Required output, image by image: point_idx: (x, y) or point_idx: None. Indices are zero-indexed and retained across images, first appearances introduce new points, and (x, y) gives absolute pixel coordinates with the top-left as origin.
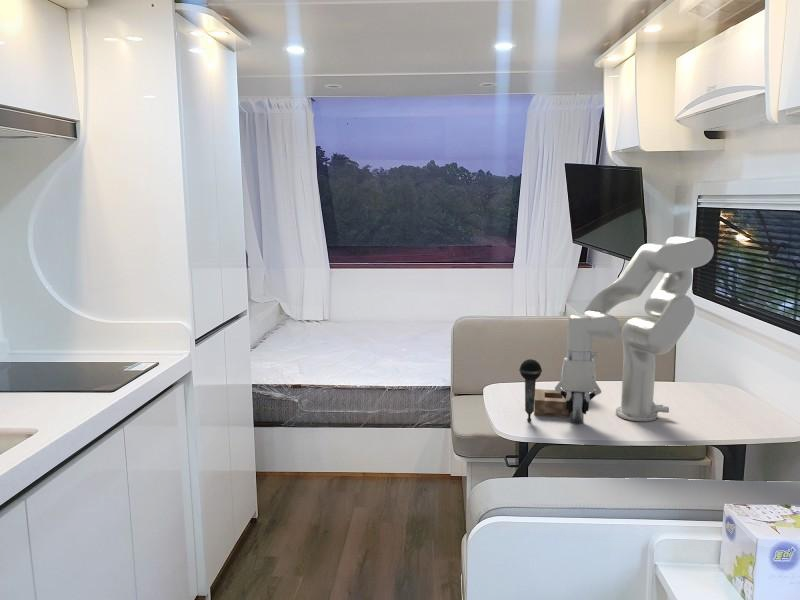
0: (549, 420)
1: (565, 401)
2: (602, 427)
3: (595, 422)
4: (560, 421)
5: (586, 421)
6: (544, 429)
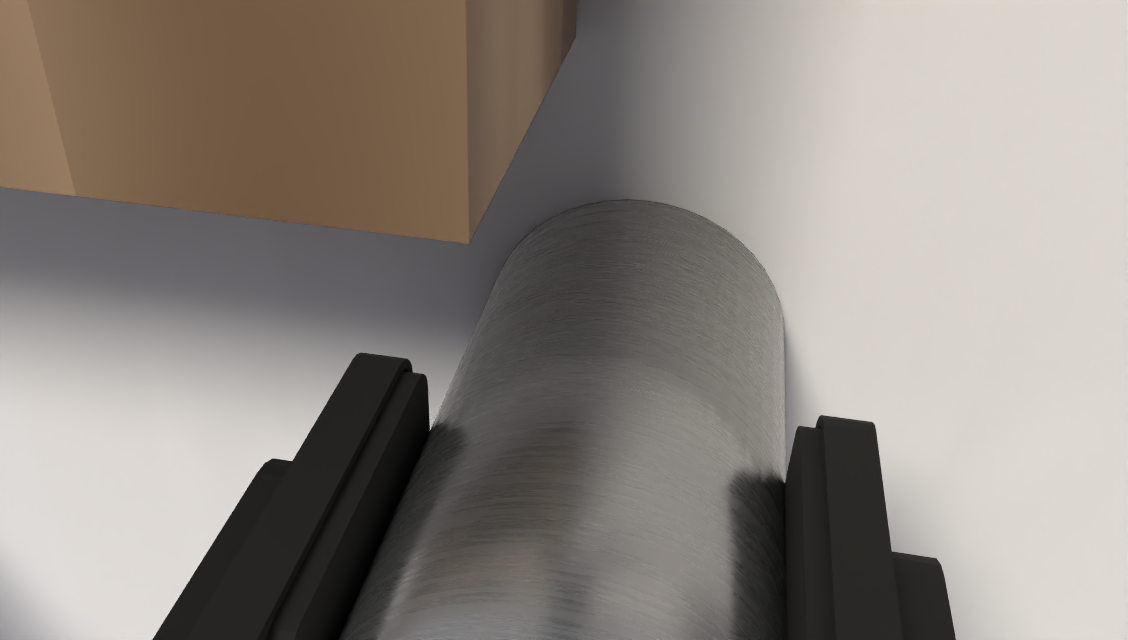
0: (77, 267)
1: (165, 161)
2: (1122, 581)
3: (1090, 336)
4: (296, 310)
5: (879, 285)
6: (97, 624)
